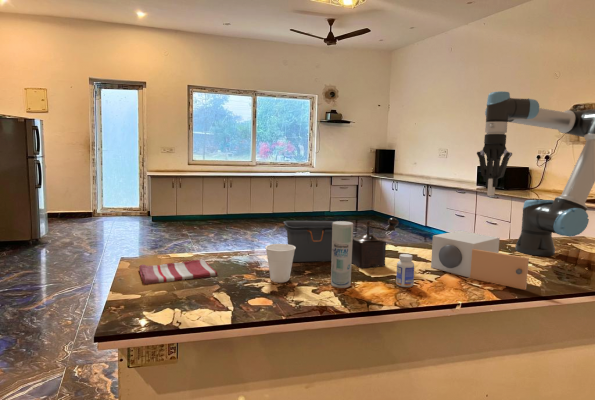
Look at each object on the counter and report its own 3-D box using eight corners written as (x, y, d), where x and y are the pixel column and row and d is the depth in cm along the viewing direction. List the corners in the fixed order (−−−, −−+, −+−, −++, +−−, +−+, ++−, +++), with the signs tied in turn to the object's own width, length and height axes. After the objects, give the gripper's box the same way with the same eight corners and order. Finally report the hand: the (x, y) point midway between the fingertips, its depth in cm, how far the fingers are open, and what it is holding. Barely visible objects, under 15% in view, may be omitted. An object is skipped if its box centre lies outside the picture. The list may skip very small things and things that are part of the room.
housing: (457, 260, 169) (459, 230, 168) (497, 269, 157) (499, 237, 155) (428, 268, 157) (430, 236, 155) (468, 279, 144) (471, 244, 143)
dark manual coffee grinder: (361, 269, 154) (363, 220, 151) (348, 261, 164) (349, 215, 162) (398, 266, 159) (401, 218, 157) (383, 258, 169) (385, 213, 167)
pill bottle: (414, 283, 138) (416, 254, 137) (411, 288, 133) (413, 258, 132) (397, 281, 140) (399, 252, 139) (394, 285, 135) (395, 256, 134)
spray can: (351, 282, 138) (354, 221, 136) (350, 288, 132) (352, 225, 129) (331, 280, 139) (333, 220, 137) (329, 287, 133) (331, 224, 130)
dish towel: (138, 271, 146) (138, 264, 146) (205, 264, 157) (205, 257, 156) (144, 286, 131) (143, 278, 131) (218, 277, 142) (218, 269, 141)
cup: (299, 277, 142) (299, 245, 141) (288, 286, 133) (289, 252, 131) (271, 274, 145) (272, 242, 144) (259, 282, 136) (260, 248, 135)
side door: (526, 289, 134) (528, 258, 133) (524, 290, 132) (527, 259, 131) (471, 277, 145) (473, 248, 144) (468, 278, 143) (471, 249, 142)
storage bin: (332, 254, 174) (333, 219, 172) (344, 264, 159) (345, 227, 157) (281, 255, 170) (282, 220, 168) (288, 266, 155) (289, 228, 153)
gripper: (474, 133, 164) (469, 194, 167) (508, 133, 154) (503, 197, 157) (484, 134, 168) (479, 193, 171) (517, 133, 158) (512, 196, 161)
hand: (490, 195), depth 164 cm, fingers closed
